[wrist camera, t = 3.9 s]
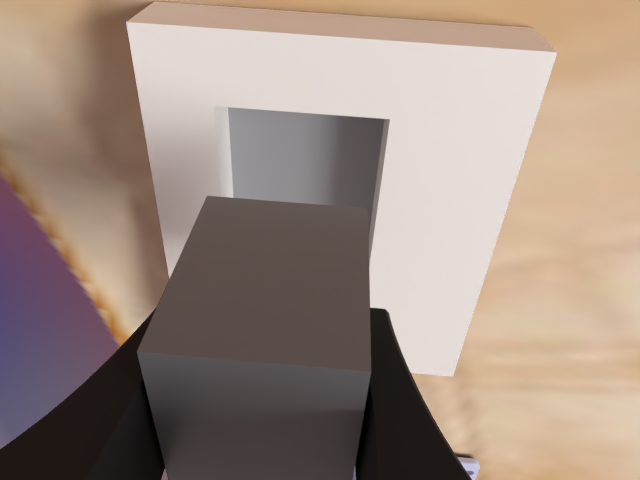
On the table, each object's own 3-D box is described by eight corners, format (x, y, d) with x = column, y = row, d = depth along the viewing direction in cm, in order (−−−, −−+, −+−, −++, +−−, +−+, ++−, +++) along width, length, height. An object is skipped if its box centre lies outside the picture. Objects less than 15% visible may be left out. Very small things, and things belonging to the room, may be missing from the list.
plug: (350, 345, 16) (346, 513, 12) (220, 334, 16) (172, 496, 12) (368, 208, 13) (371, 372, 9) (206, 195, 13) (136, 352, 9)
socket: (445, 334, 25) (454, 385, 22) (196, 313, 25) (178, 362, 22) (533, 27, 16) (562, 58, 14) (154, 1, 16) (119, 26, 14)
